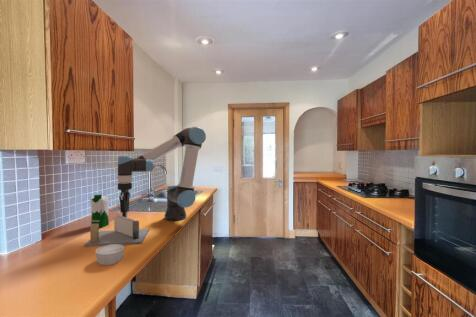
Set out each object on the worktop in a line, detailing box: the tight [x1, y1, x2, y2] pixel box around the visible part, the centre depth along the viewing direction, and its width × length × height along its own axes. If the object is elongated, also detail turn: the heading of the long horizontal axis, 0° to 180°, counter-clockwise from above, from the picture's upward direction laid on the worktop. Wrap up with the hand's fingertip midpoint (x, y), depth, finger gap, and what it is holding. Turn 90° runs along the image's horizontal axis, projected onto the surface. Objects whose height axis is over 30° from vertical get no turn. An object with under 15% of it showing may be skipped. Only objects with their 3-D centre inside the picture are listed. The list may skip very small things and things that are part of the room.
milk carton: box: [89, 194, 110, 229], centre depth 154 cm, size 9×9×20 cm
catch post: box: [89, 223, 100, 243], centre depth 124 cm, size 3×2×10 cm
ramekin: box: [94, 244, 125, 266], centre depth 106 cm, size 11×11×5 cm
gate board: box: [83, 228, 150, 247], centre depth 133 cm, size 27×21×1 cm
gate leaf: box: [113, 214, 135, 237], centre depth 136 cm, size 18×2×9 cm, turn 55°
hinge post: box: [133, 220, 140, 239], centre depth 130 cm, size 3×3×10 cm
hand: (124, 223), depth 142 cm, fingers closed
